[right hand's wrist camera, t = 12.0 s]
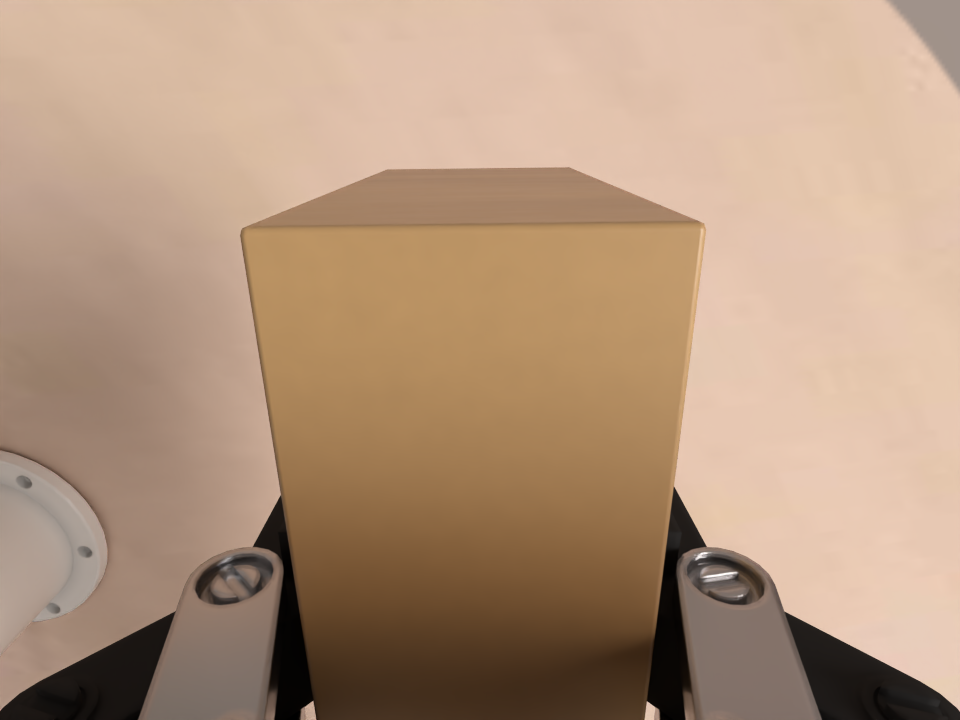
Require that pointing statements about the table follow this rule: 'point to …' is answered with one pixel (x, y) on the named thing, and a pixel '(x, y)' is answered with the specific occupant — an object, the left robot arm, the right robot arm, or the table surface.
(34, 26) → the table surface
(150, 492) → the table surface
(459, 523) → the beam
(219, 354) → the table surface
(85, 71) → the table surface
